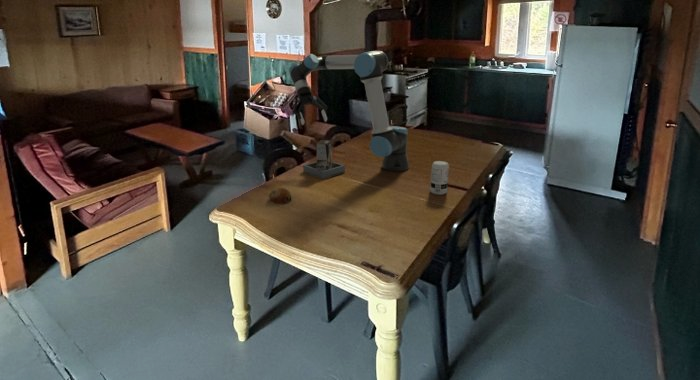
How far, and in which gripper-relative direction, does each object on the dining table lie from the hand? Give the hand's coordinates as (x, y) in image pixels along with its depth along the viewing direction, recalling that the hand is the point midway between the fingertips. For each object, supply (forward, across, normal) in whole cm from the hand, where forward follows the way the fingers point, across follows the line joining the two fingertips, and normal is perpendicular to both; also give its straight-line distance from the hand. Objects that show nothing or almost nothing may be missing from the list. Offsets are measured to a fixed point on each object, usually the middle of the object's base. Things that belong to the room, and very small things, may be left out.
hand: (315, 122), depth 271 cm
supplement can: (+64, -36, +27) cm, 78 cm away
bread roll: (+45, +36, +10) cm, 58 cm away
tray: (+26, +1, -10) cm, 28 cm away
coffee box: (+25, 0, -9) cm, 27 cm away
